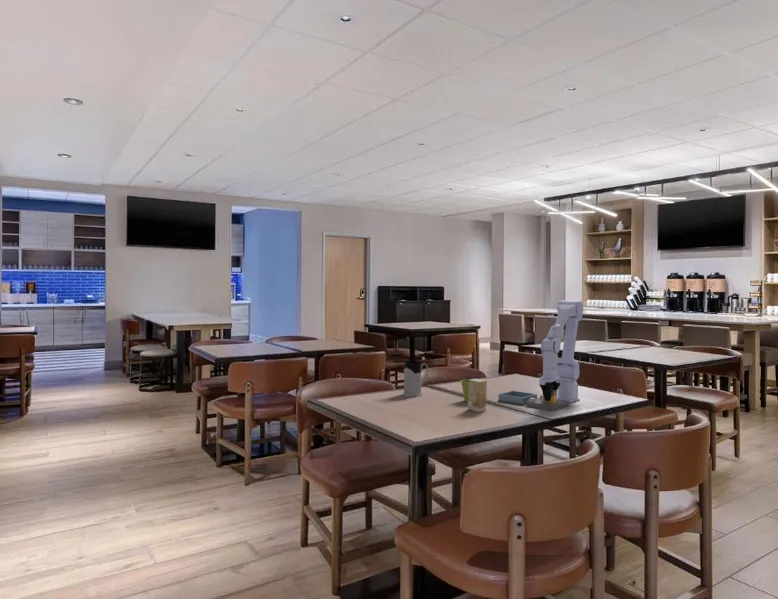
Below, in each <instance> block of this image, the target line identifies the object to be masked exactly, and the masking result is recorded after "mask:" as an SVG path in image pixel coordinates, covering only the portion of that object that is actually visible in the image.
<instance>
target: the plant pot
mask: <svg viewBox="0 0 778 599" xmlns="http://www.w3.org/2000/svg"><path fill="white" fill-rule="evenodd" d="M469 380H470V379H462V380H460V383H461V387H462V394H463V401H464V402H466V403H468V387H469Z"/></svg>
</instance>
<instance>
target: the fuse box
mask: <svg viewBox="0 0 778 599" xmlns="http://www.w3.org/2000/svg"><path fill="white" fill-rule="evenodd" d="M542 398H543V394H540V396H539V397H537V399H535V398H529V401H526V404H525V407H528V408H533V409H540V410H544V411H551V412H553V411H557V410H560V409H562V408H566V407H569V406H570V405H569V404H570V402H569V401H566V400H559V399H557V403H549V402H543V401H542Z"/></svg>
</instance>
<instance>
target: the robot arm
mask: <svg viewBox="0 0 778 599" xmlns="http://www.w3.org/2000/svg"><path fill="white" fill-rule="evenodd" d="M556 310H557V317H556V320H555V323H554V324H553V325H551V326H550V329H549V330H548V333H547V336H546V338H544V339H542V340H541V344H540V350H541V357H542V361H543V362H542V376H541V377H540V379H539V380H538V384H539V387H540V389H541V391H542V395H544V399H545V401H550V399H551V392H552V389H553V390H557V399H559V400H566V401H569V403H573V402H577V401H580V397H579V384H578V382H577V380H578V379H579V377H580V373H581V372H580V363H579V362H578V361H577V360H576V359H575V357H574V356H575V348H576V341H577V334H578V327H579V322H580V321H583V314H584V305H583V301H581V300H562V299H561V300H559V301H557V305H556ZM564 327H565V330H564ZM563 336H564V340H563V345H562V355H561V357H559V358H558V356H559V355H558V353H559V352H560V350H561V344H562V342H561V340H562V338H563Z"/></svg>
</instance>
